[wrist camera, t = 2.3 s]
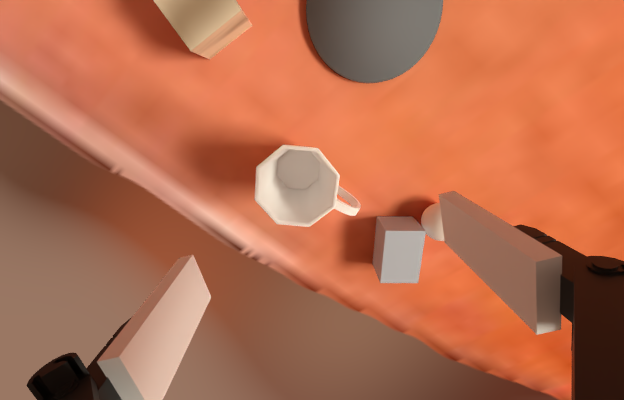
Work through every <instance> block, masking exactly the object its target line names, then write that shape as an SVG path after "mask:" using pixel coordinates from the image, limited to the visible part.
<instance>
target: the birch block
mask: <svg viewBox="0 0 624 400" xmlns="http://www.w3.org/2000/svg"><path fill="white" fill-rule="evenodd" d="M153 1H154V2H155V3H156V5H157V6H158V7H159V9H160V10H161V12H162V13H163V14H164V16H165V17H166V18H167V20H168V21H169V22H170V24H171V25H172V27H173V28H174V29H175V31H176V32H177V33H178V35H179V36H180V37H181V39H182V40H183V42H184V43H185V44H186V46H187V47H188V48H189V50H190V51H191V52H194V53H196V54H198V55H200V56H203V57H205V58H207V59H211V58H213V57H214V56H215V55H216V54H218V53H219V52H220V51H221V50H223V49H224V48H225V47H226V46H228V45H229V44H230V43H231V42H233V41H234V40H235V39H236V38H238V37H239V36H240V35H241V34H243V33H244V32H245V31H246V30H248V29H249V28H250V27H252V26H253V25H252V24H251V22H250V21H249V19H248V18H247V16H246V15H245V13H244V12H243V10H242V9H241V7H240V5H239V4H238V2H237V1H236V0H153Z"/></svg>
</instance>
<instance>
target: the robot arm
mask: <svg viewBox="0 0 624 400" xmlns="http://www.w3.org/2000/svg"><path fill="white" fill-rule="evenodd" d="M439 200H440V208H441V216H442V225H443V233H444V241H445V243H446V244H447V245H448V246H449V247H450V248H451V249H452V250H453V251H454V252H455V253H456V254H457V255H458V256H459V257H460V258H461V259H462V260H463V261H464V262H465V263H466V264H467V265H468V266H469V267H470V268H471V269H472V270H473V271H474V272H475V273H476V274H477V275H478V276H479V277H480V278H481V279H482V280H483V281H484V282H485V283H486V284H487V285H488V286H489V287H490V288H491V289H492V290H493V291H494V292H495V293H496V294H497V295H498V296H499V297H500V298H501V299H502V300H503V301H504V302H505V303H506V304H507V305H508V306H509V307H510V308H511V309H512V310H513V311H514V312H515V313H516V314H517V315H518V316H519V317H520V318H521V319H522V320H523V321H524V322H525V323H526V324H527V325H528V326H529V327H530V328H531V329H532V330H533V331H534V332H535V333H536V334H542V333H546V332H551V331H556V330H560V329H561V314H562V315H563V316H564V317H566V318H567V319H568V320H569V321H570V322H572V346H571V350H572V400H624V261H621V260H618V259H615V258H610V257H605V256H588V257H586V256H585V255H583V254H581V253H579V252H577V251H576V250H574V249H572V248H570V247H568V246H566V245H565V244H563V243H561V242H559V241H556V239H554V238H552V237H550V236H547V235H546V234H545V233H543V232H541V231H539V230H537V229H535V228H532V227H528V226H524V225H517V226H512V225H510V224H508V223H507V222H505V221H503V220H502V219H500V218H498V217H497V216H495V215H493V214H492V213H490V212H488V211H487V210H485V209H483V208H482V207H480V206H478V205H477V204H475V203H473V202H472V201H470V200H468V199H467V198H465V197H463V196H462V195H460V194H458V193H457V192H455V191H451V192H447V193H443V194H439ZM210 299H211V295H210V293H209V291H208V288H207V286H206V284H205V282H204V279H203V277H202V274H201V272H200V270H199V268H198V265H197V263H196V261H195V258H194V256H193V255H189V256H185V257H181V258H179V259H178V260H177V261H176V263H175V264H174V265H173V266H172V268H171V269H170V270H169V271H168V273H167V274H166V275H165V277H164V278H163V279H162V280H161V282H160V283H159V284H158V285H157V287H156V288H155V289H154V290H153V292H152V293H151V294H150V295H149V297H148V298H147V299H146V300H145V302H144V303H143V304H142V306H141V307H140V308H139V309H138V310H137V312H136V313H135V314H134V316H133V317H132V318H130V319H129V320H128V321H127V322H125V323H124V324H123V325H122V326H121V327H120V328H119V329H118V330H117V332H116V333H115V334H114V335H113V338H111V339H110V340H109V341H108V343H107V344H106V346H105V347H104V348H103V349H102V350H101V351H100V353H99V354H98V355H97V356H96V357H95V359H94V360H93V361H92V362H91V364H90V365H89V366H88V367H87V368H86V367H85V366H84V364H83V363H82V361H81V360H80V358H79V357H78V355H77V354H76V353H68V354H65V355H62V356H60V357H58V358H56V359H54V360H52V361H51V362H49V363H48V364H46V365H45V366H43V367H42V368H41V369H40V370H39V371H37V372H36V373H35V374H34V375H33V376H32V377H31V379H30V380H29V381H28V384H27V387H28V388H29V390H30V391H31V392H32V393H33V395H34V396H35V397H36V399H37V400H163V398H164V396H165V394H166V391H167V389H168V387H169V385H170V383H171V381H172V379H173V377H174V375H175V373H176V370H177V368H178V366H179V364H180V362H181V360H182V358H183V356H184V354H185V351H186V349H187V347H188V345H189V343H190V341H191V339H192V337H193V335H194V332H195V330H196V328H197V326H198V324H199V322H200V320H201V318H202V315H203V313H204V311H205V309H206V307H207V305H208V303H209V301H210Z"/></svg>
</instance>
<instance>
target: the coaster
mask: <svg viewBox="0 0 624 400" xmlns="http://www.w3.org/2000/svg"><path fill="white" fill-rule="evenodd" d="M442 7H443V0H307V4H306V15H307V25H308V30H309V34H310V37H311V40H312V42H313V45H314V47H315V49H316V51H317V52H318V54H319V56H320V57H321V58H322V60H323V61H324V62H325V63H326V64H327V65H328V66H329V67H330V68H331V69H332V70H333V71H335V72H336V73H337V74H339V75H341V76H343V77H344V78H347V79H349V80H352V81H356V82H361V83H377V82H383V81H387V80H390V79H393V78H395V77H397V76H399V75H401V74H403V73H404V72H406V71H407V70H409V69H410V68H411V67H413V66H414V65H415V64H416V63H417V62H418V61H419V60H420V59H421V58H422V57H423V55H424V54H425V53H426V51H427V50H428V48H429V47H430V45H431V43H432V41H433V40H434V37H435V35H436V33H437V30H438V27H439V24H440V20H441V15H442Z"/></svg>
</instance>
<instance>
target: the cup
mask: <svg viewBox="0 0 624 400" xmlns="http://www.w3.org/2000/svg"><path fill="white" fill-rule="evenodd" d="M339 177H340V175H339V174H338V172H337V171H336V170H335V169H334V167H333V166H332V165H331V164H330V162H329V161H328V160H327V159H326V157H325V156H324V155H323V154H322V152H321V151H320V150H319V149H318V148H314V147H307V146H297V145H282V146H281V147H279V148H278V149H277V150H276V151H275V152H274V153H272V154H271V155H270V156H269V157H268V158H266V159H265V160H264V161H263V162H262V163H260V164H259V165H258V166H257V167H256V182H255V201H256V202H257V203H258V204H259V205H260V206H261V207H262V209H263V210H264V211H265V212H266V213H267V214H268V215H269V216H270V217H271V218H272V219H273V220H274V221H275V223H276V224H282V225H293V226H305V227H310V226H311V225H313V224H314V223H315V222H317V221H318V220H319V219H321V218H322V217H323V216H325V215H326V214H327V213H329V212H330V211H331V210H333V209H336V210H338V211H340V212H342V213H344V214H347V215H350V216H356V214H357V213H358V211H359V209H360V207H361V205H360V202H359V201H358V200H357V199H356V198H355V197H354V196H352V195H351V194H350V193H349V192H347V191H346V190H344V189H343V188H342V187H340V186H339V185H338V184H339ZM337 194H338V195H339V196H341V197H342V198H343V199H345V200H346V201H347V202H348V203H349V204H350V205H351V206H350V205H348V204H346V203H344V202H342V201H341V200H339V199H337Z"/></svg>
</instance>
